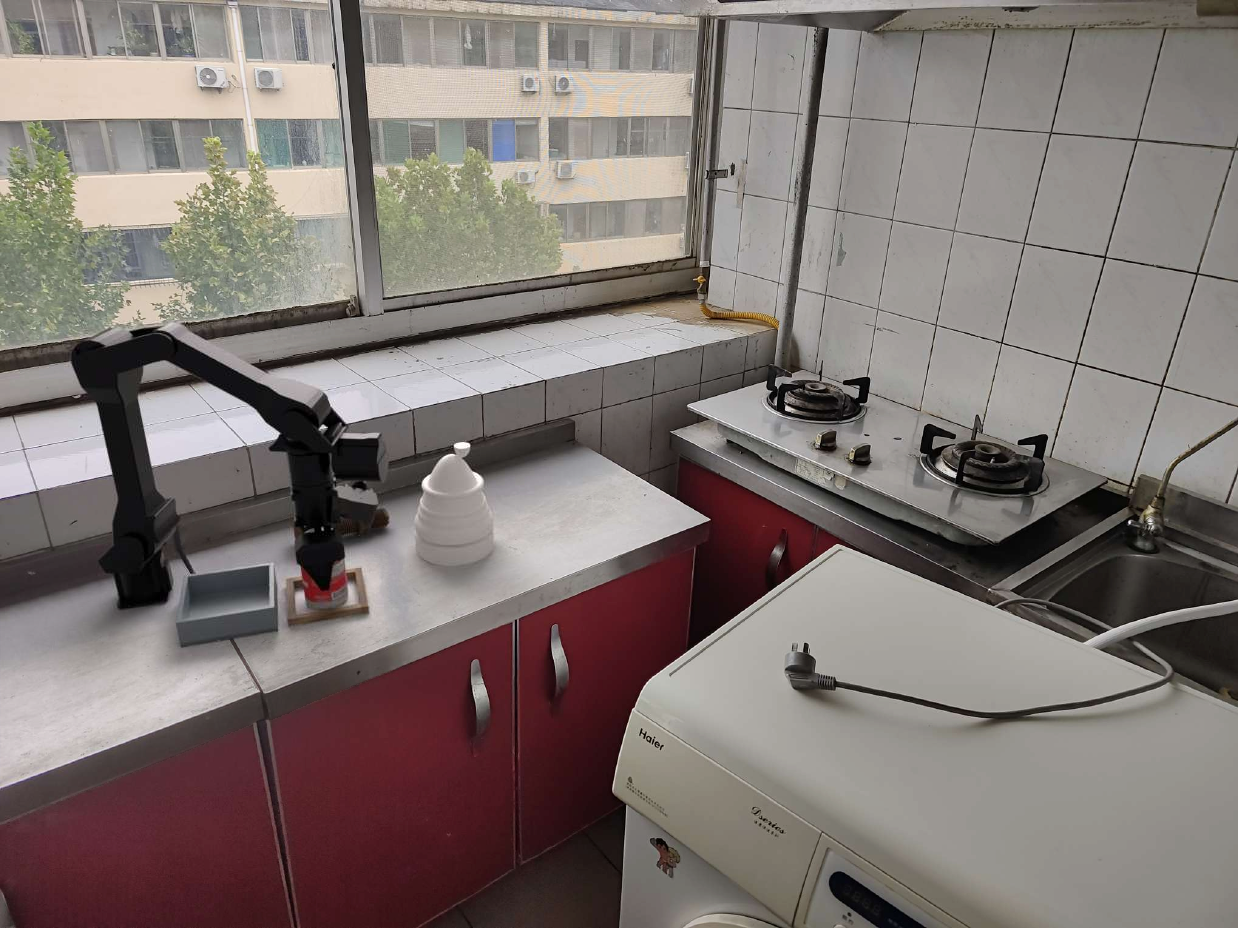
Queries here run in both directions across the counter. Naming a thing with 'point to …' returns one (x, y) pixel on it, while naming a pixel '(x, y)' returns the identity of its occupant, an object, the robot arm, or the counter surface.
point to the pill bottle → (331, 596)
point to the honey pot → (453, 514)
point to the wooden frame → (327, 613)
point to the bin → (227, 604)
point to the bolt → (356, 524)
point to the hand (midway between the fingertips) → (323, 573)
